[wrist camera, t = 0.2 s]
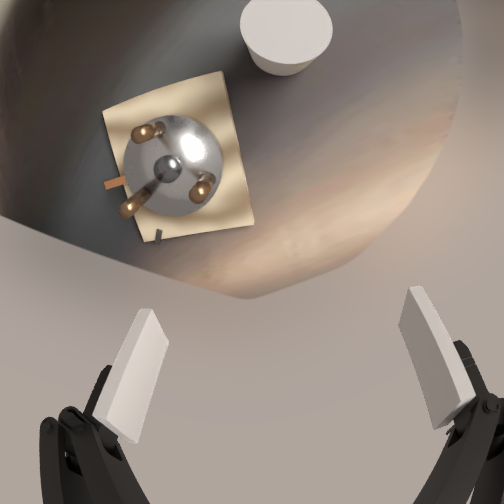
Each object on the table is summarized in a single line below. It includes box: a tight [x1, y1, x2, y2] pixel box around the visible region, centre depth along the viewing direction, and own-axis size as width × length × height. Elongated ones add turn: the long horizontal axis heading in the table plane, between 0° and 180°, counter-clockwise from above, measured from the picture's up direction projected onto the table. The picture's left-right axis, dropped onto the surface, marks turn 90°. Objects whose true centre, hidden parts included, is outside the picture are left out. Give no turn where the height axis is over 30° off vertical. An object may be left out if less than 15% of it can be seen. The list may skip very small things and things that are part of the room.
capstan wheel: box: [104, 114, 224, 219], centre depth 32 cm, size 14×18×8 cm
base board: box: [102, 71, 254, 244], centre depth 36 cm, size 23×18×2 cm
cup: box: [240, 0, 332, 76], centre depth 22 cm, size 8×8×12 cm
